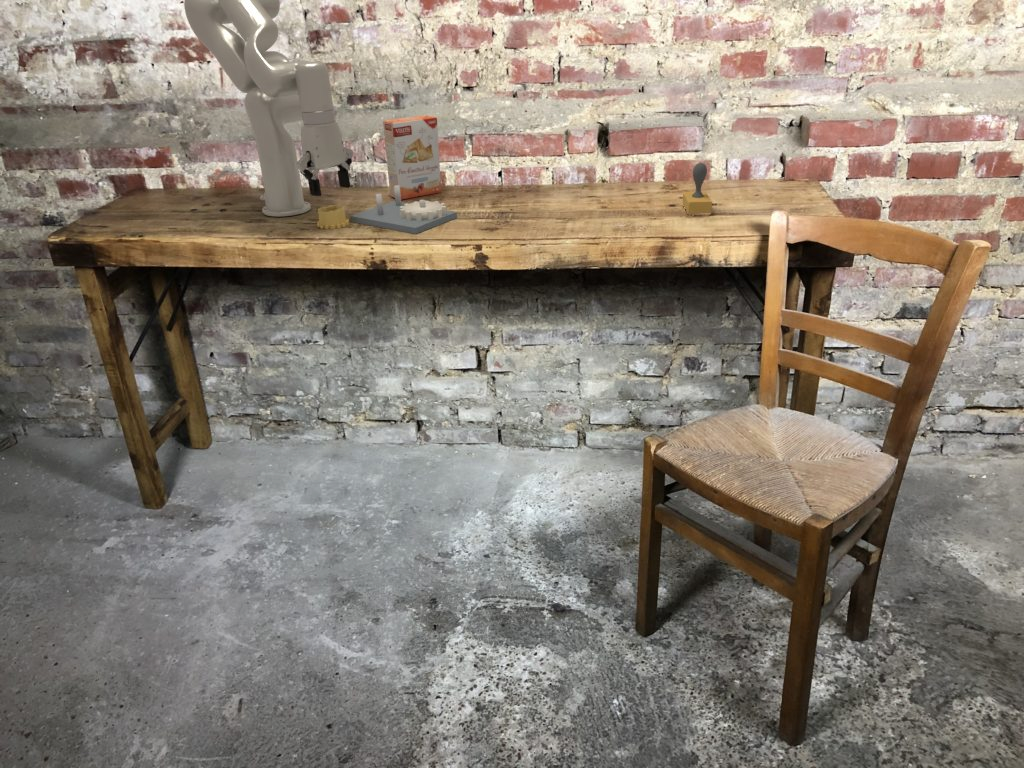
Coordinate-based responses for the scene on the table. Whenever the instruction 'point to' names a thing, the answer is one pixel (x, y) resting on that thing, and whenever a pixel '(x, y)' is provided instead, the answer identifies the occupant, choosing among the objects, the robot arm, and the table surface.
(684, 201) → the rubber stamp
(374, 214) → the gear board
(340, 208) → the gear
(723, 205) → the table surface
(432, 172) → the cracker box
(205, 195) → the table surface
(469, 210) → the table surface
